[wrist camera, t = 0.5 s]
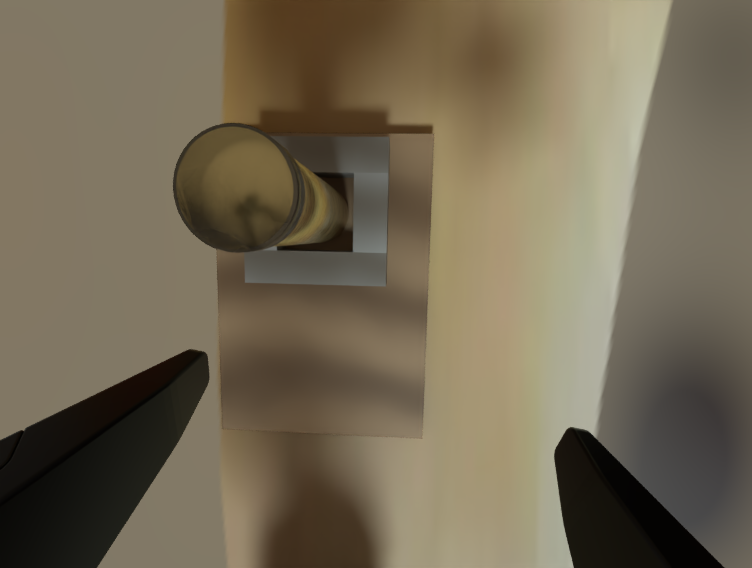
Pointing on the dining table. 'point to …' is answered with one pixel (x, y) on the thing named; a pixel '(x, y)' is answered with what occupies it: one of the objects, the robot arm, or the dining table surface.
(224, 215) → the tan cylinder
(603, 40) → the dining table surface
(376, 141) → the walnut eye plate
